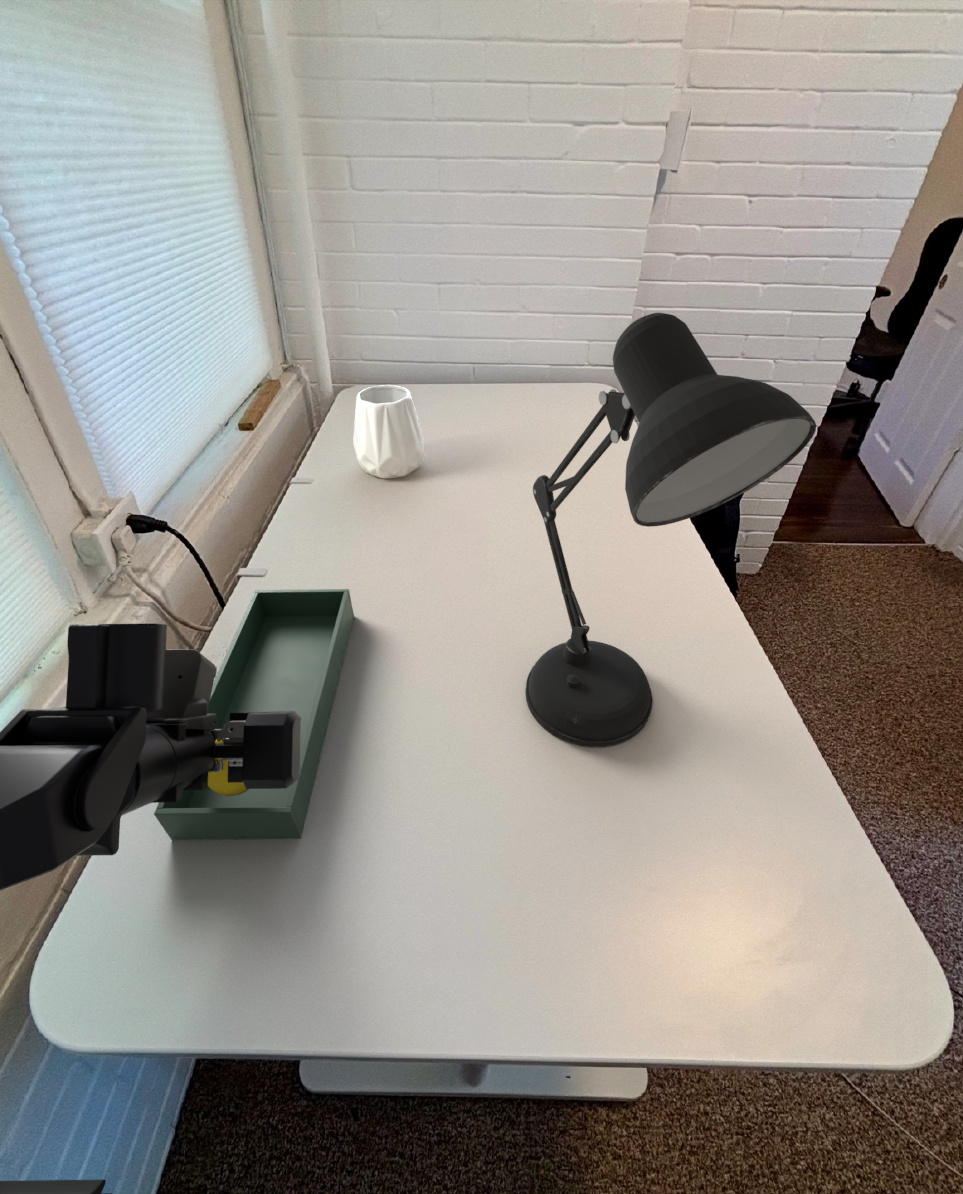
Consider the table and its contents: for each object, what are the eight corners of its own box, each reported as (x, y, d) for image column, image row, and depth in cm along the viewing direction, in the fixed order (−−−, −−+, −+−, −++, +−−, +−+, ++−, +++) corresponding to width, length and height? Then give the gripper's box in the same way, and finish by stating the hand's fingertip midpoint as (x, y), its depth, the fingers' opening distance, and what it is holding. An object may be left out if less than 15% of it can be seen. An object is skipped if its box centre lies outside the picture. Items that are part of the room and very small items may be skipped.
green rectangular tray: (300, 838, 60) (290, 812, 57) (171, 840, 60) (153, 814, 57) (354, 615, 86) (348, 588, 83) (263, 616, 86) (255, 589, 83)
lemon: (268, 803, 60) (248, 756, 55) (211, 816, 59) (185, 769, 54) (269, 759, 64) (251, 711, 59) (216, 770, 63) (192, 722, 58)
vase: (358, 486, 115) (346, 411, 106) (355, 454, 126) (345, 383, 116) (430, 479, 117) (424, 405, 108) (421, 448, 128) (416, 378, 118)
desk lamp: (677, 824, 61) (850, 395, 32) (453, 740, 69) (429, 338, 40) (710, 666, 78) (842, 293, 49) (527, 613, 86) (547, 267, 57)
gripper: (268, 653, 44) (324, 654, 59) (17, 656, 44) (138, 656, 59) (264, 807, 43) (322, 767, 58) (6, 810, 43) (133, 769, 58)
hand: (228, 737), depth 58 cm, fingers closed on lemon, 4 cm apart
